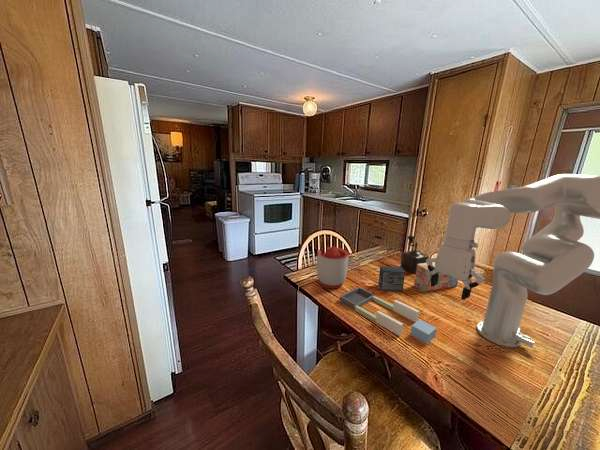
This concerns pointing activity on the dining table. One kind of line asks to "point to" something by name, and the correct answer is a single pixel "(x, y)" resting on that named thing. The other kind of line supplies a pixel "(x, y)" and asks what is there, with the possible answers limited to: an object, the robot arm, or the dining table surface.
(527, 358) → the dining table surface
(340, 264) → the citrus juicer
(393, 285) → the small box
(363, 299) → the two-pronged grey tray
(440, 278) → the stack of blocks
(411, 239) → the black upright piece
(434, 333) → the block
